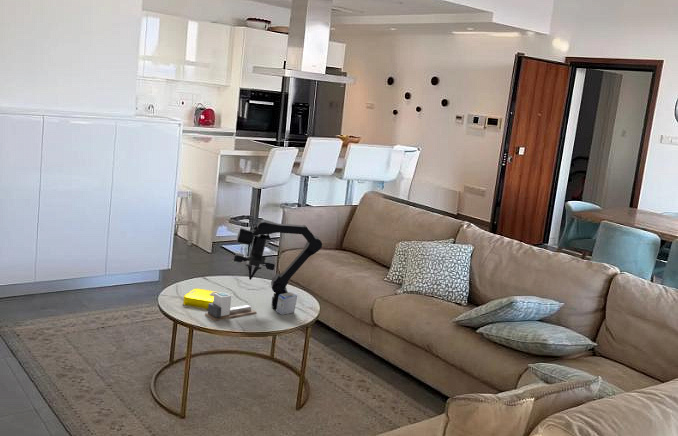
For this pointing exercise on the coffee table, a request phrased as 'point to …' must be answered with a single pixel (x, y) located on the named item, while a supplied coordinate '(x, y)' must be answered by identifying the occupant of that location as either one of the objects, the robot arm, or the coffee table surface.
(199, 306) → the element tile
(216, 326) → the coffee table surface
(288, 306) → the medicine box
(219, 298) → the block
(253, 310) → the mounting board
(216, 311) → the rail
